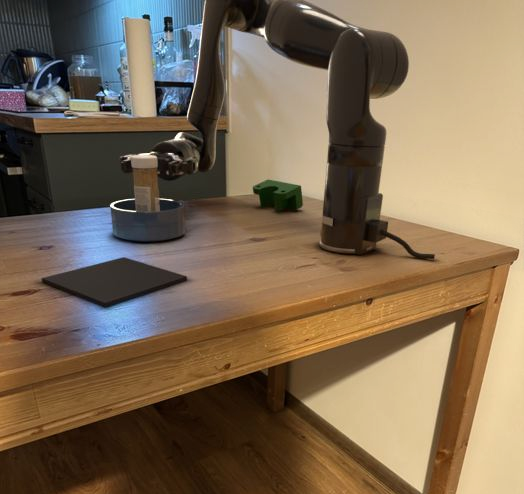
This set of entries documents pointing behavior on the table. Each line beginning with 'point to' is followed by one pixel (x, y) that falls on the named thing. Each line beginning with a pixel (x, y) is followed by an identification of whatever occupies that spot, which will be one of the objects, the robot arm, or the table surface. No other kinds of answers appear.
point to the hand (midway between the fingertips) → (147, 168)
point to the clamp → (279, 195)
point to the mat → (114, 281)
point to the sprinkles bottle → (145, 182)
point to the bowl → (148, 221)
